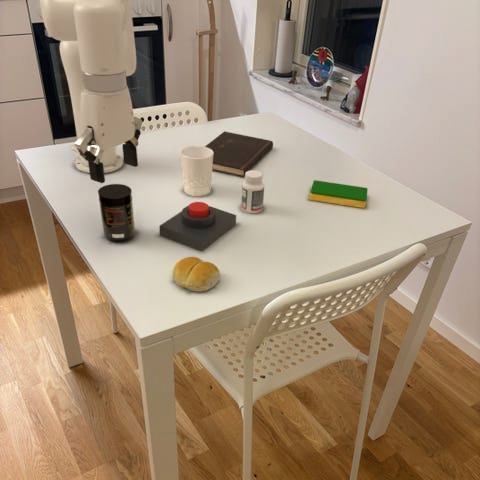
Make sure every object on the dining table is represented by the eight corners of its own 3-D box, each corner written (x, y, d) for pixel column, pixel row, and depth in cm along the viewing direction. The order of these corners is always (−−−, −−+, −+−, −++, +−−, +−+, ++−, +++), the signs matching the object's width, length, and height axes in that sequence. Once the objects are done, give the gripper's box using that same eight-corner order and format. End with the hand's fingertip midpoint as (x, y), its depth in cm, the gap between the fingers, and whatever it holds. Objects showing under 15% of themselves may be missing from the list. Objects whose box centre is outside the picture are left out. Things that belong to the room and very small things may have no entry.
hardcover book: (190, 165, 142) (190, 157, 140) (224, 138, 158) (224, 131, 157) (244, 177, 137) (244, 169, 136) (272, 148, 154) (273, 141, 153)
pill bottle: (265, 206, 126) (268, 171, 120) (258, 215, 122) (261, 180, 116) (244, 201, 127) (246, 167, 121) (237, 211, 123) (239, 175, 117)
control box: (159, 235, 112) (158, 217, 110) (196, 211, 122) (196, 193, 119) (201, 251, 108) (201, 232, 106) (235, 224, 118) (236, 206, 115)
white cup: (208, 199, 127) (208, 160, 120) (177, 195, 128) (176, 156, 121) (215, 186, 133) (216, 148, 126) (186, 182, 134) (185, 144, 127)
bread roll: (189, 262, 105) (189, 245, 102) (225, 278, 101) (226, 261, 99) (163, 281, 99) (162, 264, 97) (200, 298, 96) (200, 280, 93)
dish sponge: (312, 188, 135) (314, 179, 133) (365, 196, 133) (367, 187, 131) (309, 200, 129) (310, 191, 128) (364, 208, 127) (366, 199, 126)
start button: (184, 214, 112) (184, 207, 111) (196, 207, 115) (196, 199, 114) (201, 220, 110) (201, 213, 109) (212, 212, 113) (212, 205, 112)
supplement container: (134, 226, 115) (130, 182, 108) (136, 242, 110) (132, 197, 103) (103, 228, 113) (97, 184, 107) (104, 245, 108) (98, 199, 102)
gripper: (121, 68, 99) (128, 155, 110) (52, 87, 87) (69, 182, 98) (152, 75, 96) (157, 163, 107) (85, 96, 84) (99, 193, 95)
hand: (115, 172), depth 102 cm, fingers open, 9 cm apart
